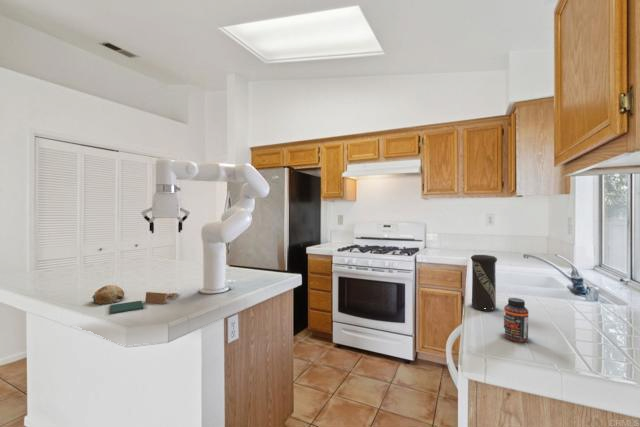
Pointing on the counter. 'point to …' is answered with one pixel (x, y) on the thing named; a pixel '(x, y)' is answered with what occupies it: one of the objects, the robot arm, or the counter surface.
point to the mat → (126, 307)
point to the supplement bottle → (516, 320)
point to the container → (483, 282)
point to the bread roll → (108, 294)
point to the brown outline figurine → (158, 297)
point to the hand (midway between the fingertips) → (166, 232)
